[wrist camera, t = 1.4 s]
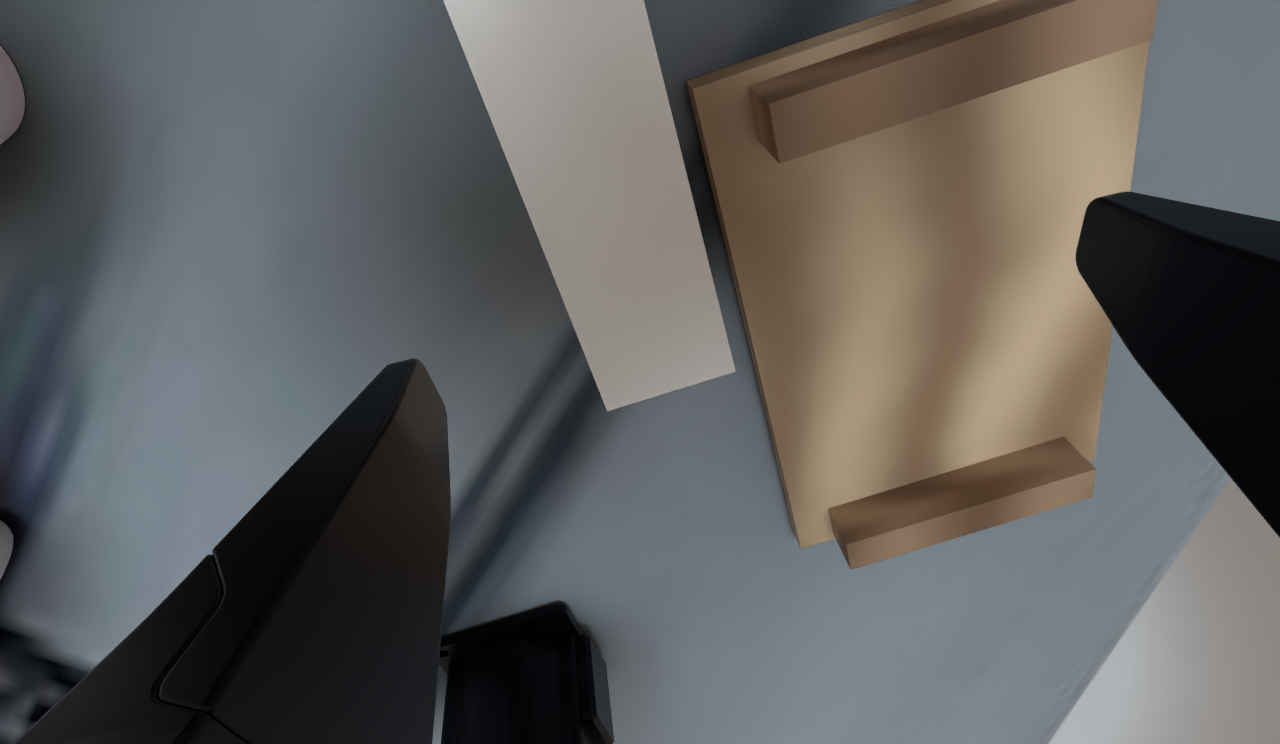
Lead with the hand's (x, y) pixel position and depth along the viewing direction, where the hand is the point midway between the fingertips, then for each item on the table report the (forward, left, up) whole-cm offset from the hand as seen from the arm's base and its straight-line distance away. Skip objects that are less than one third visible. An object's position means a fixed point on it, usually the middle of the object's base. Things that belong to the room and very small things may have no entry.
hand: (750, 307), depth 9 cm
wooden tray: (+8, -10, -13) cm, 18 cm away
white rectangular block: (-1, +1, -13) cm, 13 cm away
